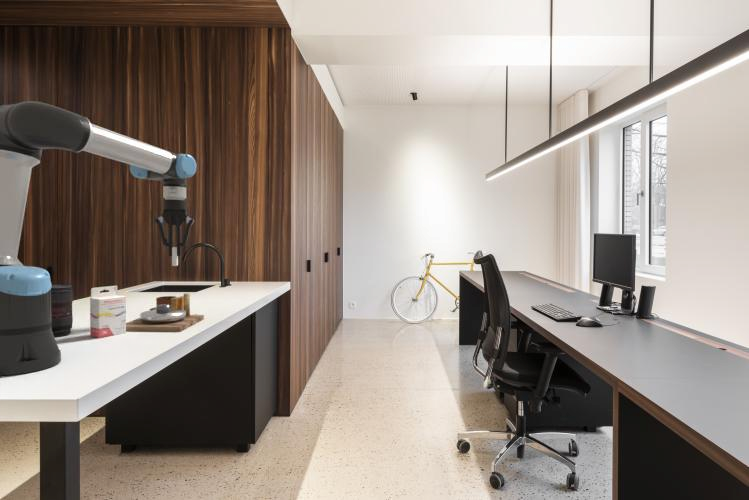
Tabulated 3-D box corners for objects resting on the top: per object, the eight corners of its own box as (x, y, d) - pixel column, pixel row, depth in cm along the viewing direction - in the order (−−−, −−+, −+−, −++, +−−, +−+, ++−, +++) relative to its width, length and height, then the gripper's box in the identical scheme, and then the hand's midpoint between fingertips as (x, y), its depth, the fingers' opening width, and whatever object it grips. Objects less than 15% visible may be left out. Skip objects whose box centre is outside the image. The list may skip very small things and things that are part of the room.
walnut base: (180, 331, 145) (180, 302, 145) (117, 330, 145) (117, 301, 145) (203, 319, 165) (203, 293, 165) (148, 318, 165) (148, 292, 165)
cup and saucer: (190, 311, 180) (190, 296, 180) (170, 317, 169) (170, 300, 169) (164, 310, 183) (163, 294, 183) (142, 315, 172) (142, 299, 171)
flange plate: (166, 323, 147) (166, 305, 146) (130, 320, 150) (130, 302, 150) (201, 313, 164) (201, 297, 164) (168, 311, 168) (168, 295, 167)
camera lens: (57, 338, 134) (56, 288, 134) (34, 337, 136) (33, 287, 135) (80, 332, 142) (79, 284, 142) (58, 331, 144) (57, 283, 143)
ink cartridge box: (99, 338, 135) (98, 289, 135) (89, 336, 138) (89, 288, 137) (127, 333, 143) (126, 286, 142) (117, 331, 145) (117, 285, 144)
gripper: (152, 198, 157) (152, 266, 158) (192, 199, 160) (193, 266, 161) (157, 199, 164) (157, 264, 165) (195, 200, 167) (195, 264, 168)
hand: (175, 265), depth 163 cm, fingers closed
